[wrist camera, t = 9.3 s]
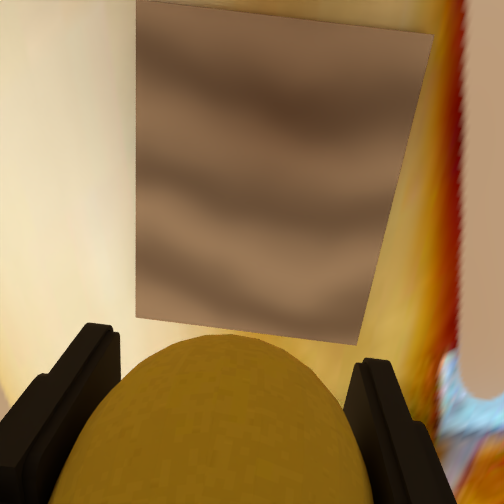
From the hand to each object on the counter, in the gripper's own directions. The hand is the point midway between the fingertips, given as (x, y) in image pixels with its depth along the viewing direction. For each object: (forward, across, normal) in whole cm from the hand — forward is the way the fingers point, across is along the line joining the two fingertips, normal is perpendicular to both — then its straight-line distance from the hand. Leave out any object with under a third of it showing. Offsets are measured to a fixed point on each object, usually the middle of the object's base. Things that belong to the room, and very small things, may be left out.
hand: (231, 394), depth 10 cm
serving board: (+19, 0, 0) cm, 19 cm away
